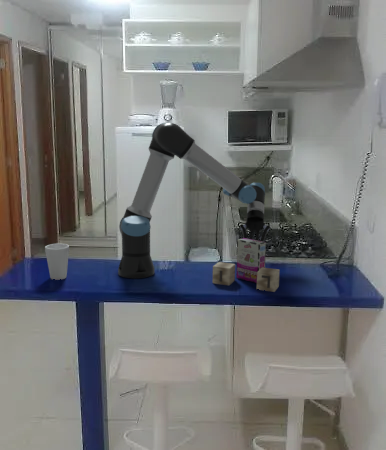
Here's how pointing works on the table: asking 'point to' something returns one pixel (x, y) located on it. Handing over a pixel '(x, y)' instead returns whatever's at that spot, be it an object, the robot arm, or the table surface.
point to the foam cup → (57, 260)
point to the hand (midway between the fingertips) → (253, 259)
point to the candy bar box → (250, 258)
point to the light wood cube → (268, 279)
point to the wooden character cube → (223, 273)
